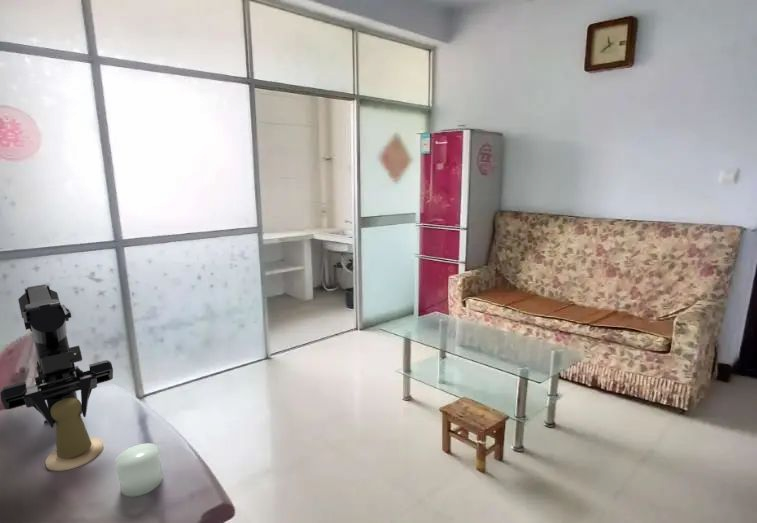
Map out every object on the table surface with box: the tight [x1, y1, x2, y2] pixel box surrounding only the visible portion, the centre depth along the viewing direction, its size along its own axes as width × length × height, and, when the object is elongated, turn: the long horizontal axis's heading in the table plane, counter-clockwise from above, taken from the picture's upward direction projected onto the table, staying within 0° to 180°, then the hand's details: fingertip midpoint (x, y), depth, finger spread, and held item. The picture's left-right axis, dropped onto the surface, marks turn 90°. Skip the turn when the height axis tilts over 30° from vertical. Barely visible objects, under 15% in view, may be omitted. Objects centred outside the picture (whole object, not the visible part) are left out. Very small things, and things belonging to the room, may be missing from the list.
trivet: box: [45, 437, 104, 472], centre depth 91 cm, size 10×10×1 cm
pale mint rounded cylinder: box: [115, 442, 164, 498], centre depth 81 cm, size 7×7×6 cm
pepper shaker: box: [50, 397, 92, 459], centre depth 89 cm, size 6×6×11 cm
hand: (68, 421), depth 88 cm, fingers closed on pepper shaker, 5 cm apart
